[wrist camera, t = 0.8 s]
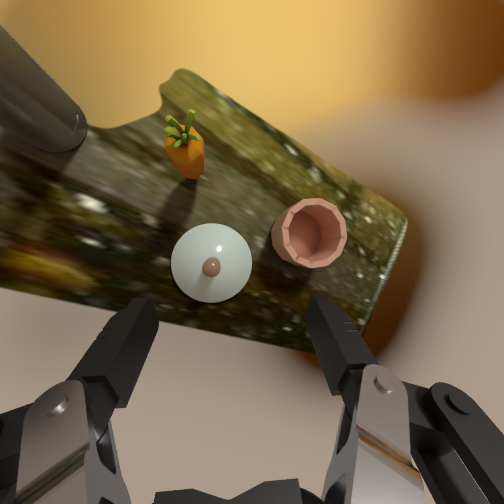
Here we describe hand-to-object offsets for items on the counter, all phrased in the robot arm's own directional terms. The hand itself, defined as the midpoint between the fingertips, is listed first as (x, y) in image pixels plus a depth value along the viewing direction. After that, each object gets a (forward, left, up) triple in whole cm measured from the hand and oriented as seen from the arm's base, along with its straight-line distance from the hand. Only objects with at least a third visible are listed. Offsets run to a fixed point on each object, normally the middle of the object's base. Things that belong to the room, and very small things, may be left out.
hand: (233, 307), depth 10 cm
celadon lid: (-2, 0, -26) cm, 26 cm away
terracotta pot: (+11, +11, -26) cm, 30 cm away
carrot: (-11, +13, -26) cm, 31 cm away
